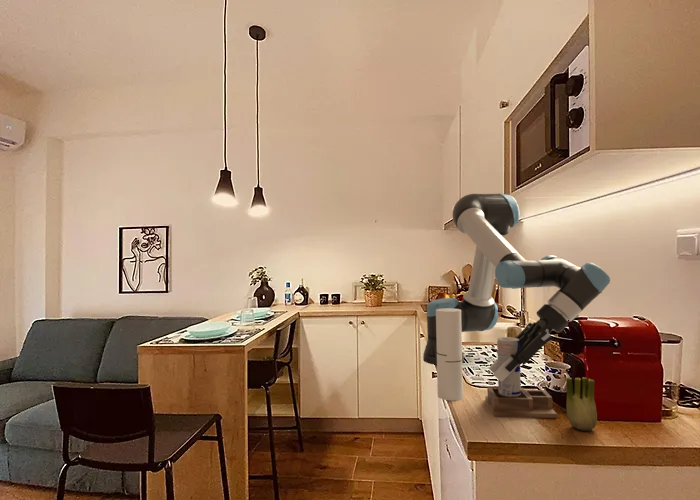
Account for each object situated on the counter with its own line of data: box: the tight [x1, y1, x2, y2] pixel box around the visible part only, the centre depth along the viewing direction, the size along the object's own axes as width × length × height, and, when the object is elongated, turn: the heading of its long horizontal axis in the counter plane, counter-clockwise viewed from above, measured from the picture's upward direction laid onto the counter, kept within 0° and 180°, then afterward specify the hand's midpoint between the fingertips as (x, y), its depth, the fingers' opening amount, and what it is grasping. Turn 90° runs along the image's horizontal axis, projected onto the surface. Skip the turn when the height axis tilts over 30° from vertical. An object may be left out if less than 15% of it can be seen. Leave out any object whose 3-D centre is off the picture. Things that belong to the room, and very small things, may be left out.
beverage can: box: [496, 336, 522, 397], centre depth 120 cm, size 6×6×15 cm
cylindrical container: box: [436, 308, 464, 401], centre depth 131 cm, size 7×7×25 cm
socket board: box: [485, 386, 558, 419], centre depth 120 cm, size 13×15×4 cm
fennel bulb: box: [565, 376, 598, 432], centre depth 106 cm, size 6×5×12 cm
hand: (494, 374), depth 121 cm, fingers closed on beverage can, 5 cm apart
